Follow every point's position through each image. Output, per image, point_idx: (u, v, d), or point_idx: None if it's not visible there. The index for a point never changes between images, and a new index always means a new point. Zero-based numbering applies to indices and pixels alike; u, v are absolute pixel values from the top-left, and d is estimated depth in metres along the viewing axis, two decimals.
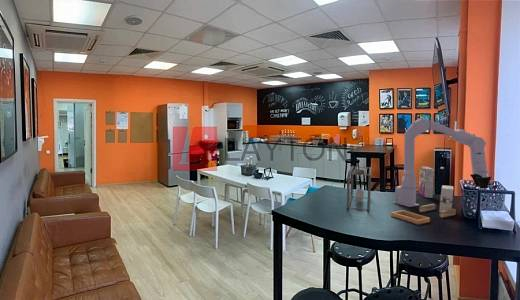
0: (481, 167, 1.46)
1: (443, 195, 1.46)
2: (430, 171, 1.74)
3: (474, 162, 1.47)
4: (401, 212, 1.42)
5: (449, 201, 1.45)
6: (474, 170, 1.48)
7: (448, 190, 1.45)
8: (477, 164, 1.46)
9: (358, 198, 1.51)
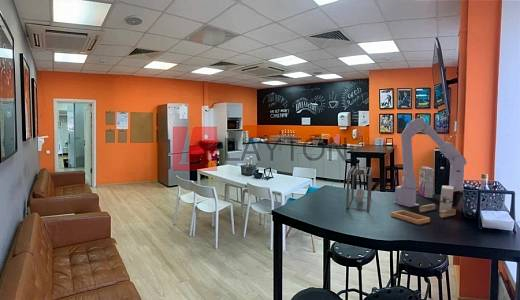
0: (452, 184, 1.51)
1: (443, 195, 1.46)
2: (430, 171, 1.74)
3: None
4: (401, 212, 1.42)
5: (449, 201, 1.45)
6: (449, 185, 1.54)
7: (448, 190, 1.45)
8: (450, 180, 1.52)
9: (358, 198, 1.51)
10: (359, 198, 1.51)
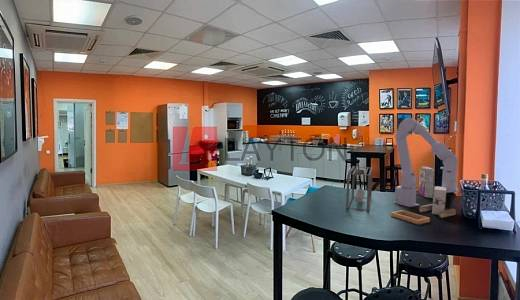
0: (445, 185, 1.47)
1: (436, 197, 1.43)
2: (430, 171, 1.74)
3: (442, 179, 1.50)
4: (401, 212, 1.42)
5: (442, 202, 1.42)
6: None
7: (441, 191, 1.42)
8: (443, 181, 1.49)
9: (358, 198, 1.51)
10: (359, 198, 1.51)
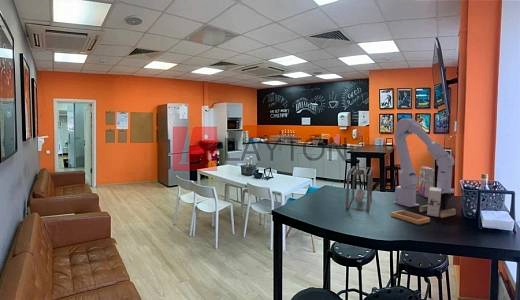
0: (440, 186, 1.45)
1: (431, 198, 1.41)
2: (430, 171, 1.74)
3: (437, 179, 1.48)
4: (401, 212, 1.42)
5: (437, 203, 1.39)
6: None
7: (436, 192, 1.39)
8: (438, 182, 1.46)
9: (358, 198, 1.51)
10: (359, 198, 1.51)
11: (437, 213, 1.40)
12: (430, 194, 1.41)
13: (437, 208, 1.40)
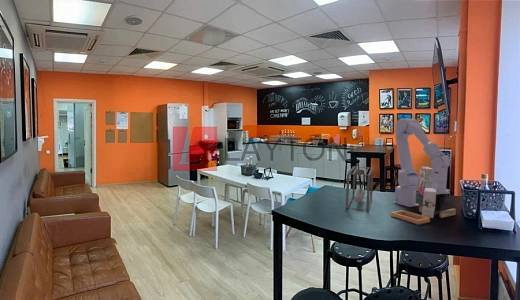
0: (435, 187, 1.43)
1: (426, 199, 1.38)
2: (430, 171, 1.74)
3: (432, 180, 1.46)
4: (401, 212, 1.42)
5: (432, 204, 1.37)
6: None
7: (430, 193, 1.37)
8: (433, 183, 1.44)
9: (358, 198, 1.52)
10: (359, 198, 1.51)
11: (432, 214, 1.38)
12: (425, 195, 1.39)
13: (432, 209, 1.38)
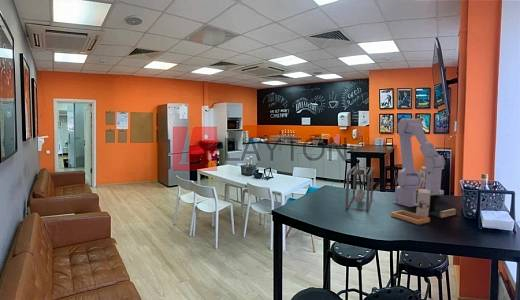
0: (429, 188, 1.41)
1: (420, 200, 1.36)
2: None
3: (426, 181, 1.43)
4: (401, 212, 1.42)
5: (426, 206, 1.35)
6: None
7: (425, 194, 1.35)
8: (427, 183, 1.42)
9: (358, 198, 1.52)
10: (359, 198, 1.51)
11: (426, 216, 1.35)
12: (419, 196, 1.36)
13: (426, 211, 1.35)
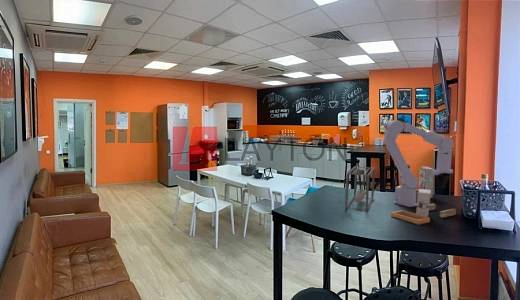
0: (439, 166, 1.54)
1: (420, 200, 1.36)
2: (430, 171, 1.74)
3: (437, 160, 1.57)
4: (401, 212, 1.42)
5: (426, 206, 1.35)
6: None
7: (425, 194, 1.35)
8: (438, 163, 1.55)
9: (357, 198, 1.52)
10: (358, 198, 1.51)
11: (426, 216, 1.35)
12: (419, 196, 1.36)
13: (426, 211, 1.35)
